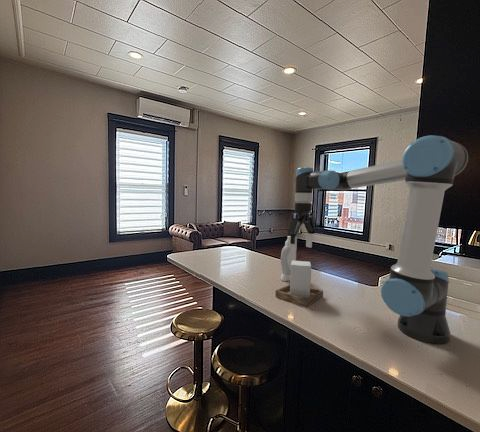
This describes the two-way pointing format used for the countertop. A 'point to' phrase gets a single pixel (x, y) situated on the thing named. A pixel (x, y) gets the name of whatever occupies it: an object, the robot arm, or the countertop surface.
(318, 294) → the tray
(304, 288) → the supplement box
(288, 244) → the soap bottle
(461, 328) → the countertop surface
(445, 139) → the robot arm
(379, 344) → the countertop surface
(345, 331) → the countertop surface
